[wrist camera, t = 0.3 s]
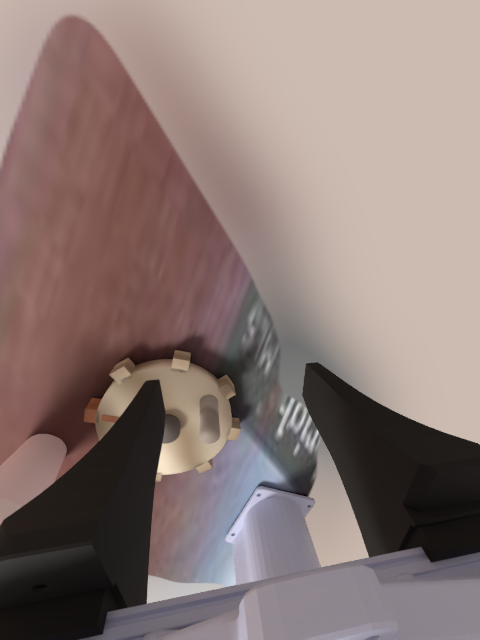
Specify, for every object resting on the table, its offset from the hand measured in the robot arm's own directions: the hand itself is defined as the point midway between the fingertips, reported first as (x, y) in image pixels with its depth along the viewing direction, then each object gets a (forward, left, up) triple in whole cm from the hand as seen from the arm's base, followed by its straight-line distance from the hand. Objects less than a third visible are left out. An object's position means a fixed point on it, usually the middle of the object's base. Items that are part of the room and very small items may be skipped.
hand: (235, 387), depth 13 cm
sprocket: (-11, +1, -11) cm, 16 cm away
